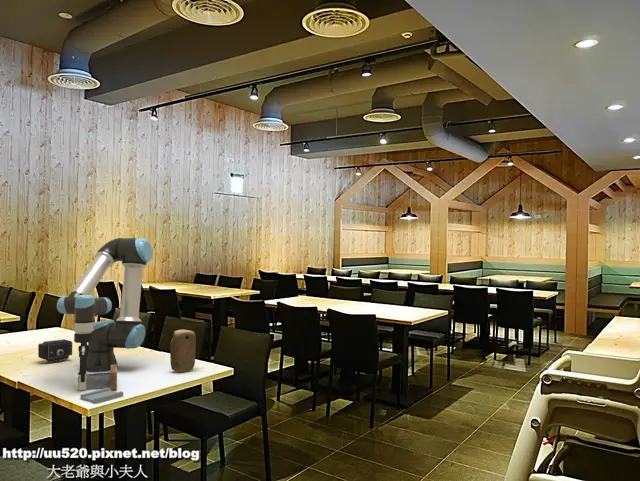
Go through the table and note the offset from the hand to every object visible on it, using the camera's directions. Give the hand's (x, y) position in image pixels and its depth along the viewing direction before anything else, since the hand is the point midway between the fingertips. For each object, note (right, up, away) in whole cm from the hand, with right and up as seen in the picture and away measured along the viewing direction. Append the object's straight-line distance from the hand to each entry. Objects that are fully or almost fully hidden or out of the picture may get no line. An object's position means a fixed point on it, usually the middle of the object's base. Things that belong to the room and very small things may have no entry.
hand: (82, 387), depth 212 cm
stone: (+33, -2, +33) cm, 47 cm away
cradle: (+13, 0, -12) cm, 17 cm away
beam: (+11, -1, +5) cm, 12 cm away
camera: (-37, -1, +48) cm, 61 cm away
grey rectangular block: (+5, +2, +2) cm, 6 cm away
